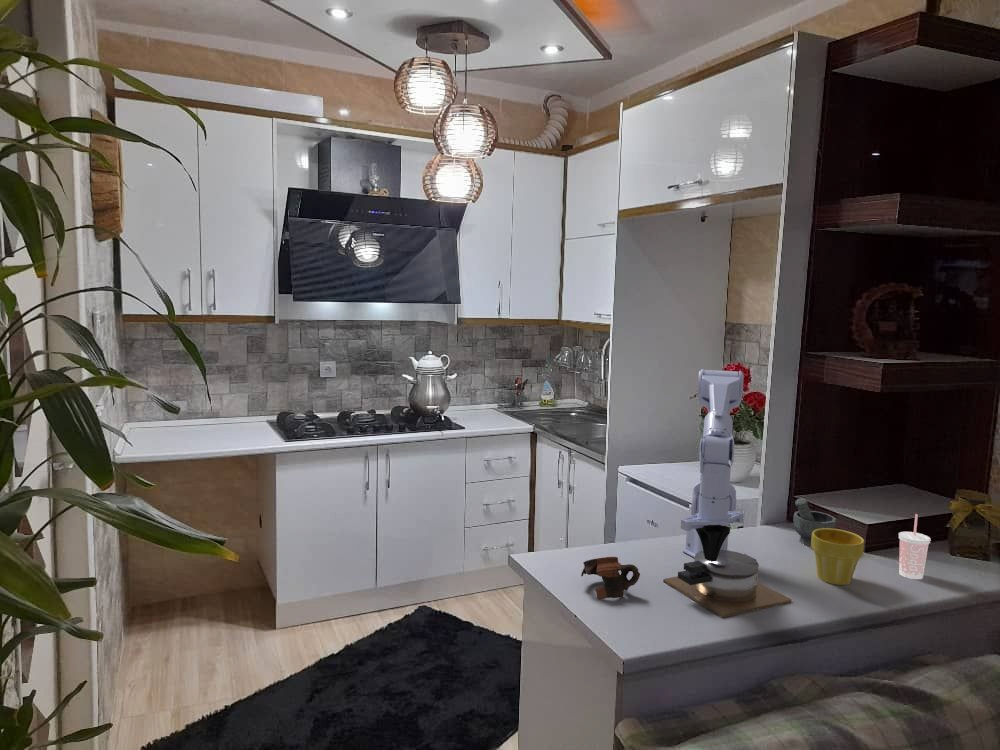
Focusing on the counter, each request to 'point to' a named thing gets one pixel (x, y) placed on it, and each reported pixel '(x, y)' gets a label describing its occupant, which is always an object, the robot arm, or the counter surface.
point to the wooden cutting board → (726, 592)
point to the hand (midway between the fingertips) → (710, 559)
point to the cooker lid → (724, 564)
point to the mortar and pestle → (810, 521)
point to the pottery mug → (611, 576)
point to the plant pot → (836, 554)
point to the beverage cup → (913, 553)
